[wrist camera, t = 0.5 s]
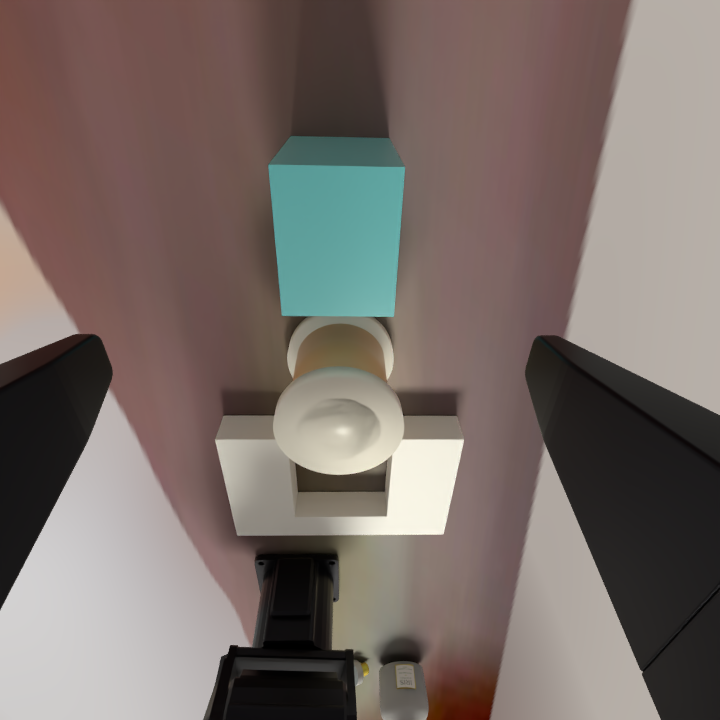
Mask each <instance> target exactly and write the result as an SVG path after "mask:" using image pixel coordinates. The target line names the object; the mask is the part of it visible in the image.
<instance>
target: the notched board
mask: <svg viewBox="0 0 720 720" xmlns="http://www.w3.org/2000/svg"><path fill="white" fill-rule="evenodd" d="M403 419H404V434H403V438H402V441H401V443H400V445H399V447H398V448H397V450H396V451H395V452H394V453H393V454H392V455H391V456H390V457H389V458H388V459H387V470H386V482H385V492H298V488H297V477H296V466H295V462H294V461H292V460H291V459H290V458H289V457H288V456H286V455H285V454H284V452H283V451H282V450H281V449H280V447H279V445H278V444H277V442H276V439H275V437H274V432H273V420H274V416H223V418H222V421H221V424H220V427H219V430H218V433H217V435H216V438H215V442H216V446H217V450H218V455H219V459H220V463H221V468H222V472H223V476H224V481H225V485H226V489H227V494H228V498H229V502H230V507H231V511H232V515H233V520H234V524H235V528H236V533H237V536H283V535H427V534H444V530H445V525H446V520H447V516H448V511H449V507H450V502H451V497H452V493H453V488H454V484H455V479H456V474H457V470H458V465H459V461H460V456H461V452H462V447H463V442H464V437H463V434H462V431H461V428H460V424H459V421H458V418H457V416H403Z"/></svg>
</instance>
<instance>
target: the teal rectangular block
mask: <svg viewBox="0 0 720 720" xmlns="http://www.w3.org/2000/svg"><path fill="white" fill-rule="evenodd" d="M268 167H269V178H270V189H271V200H272V211H273V222H274V233H275V244H276V255H277V266H278V277H279V289H280V300H281V311H282V316H354V317H394V308H395V294H396V281H397V268H398V254H399V241H400V227H401V214H402V201H403V187H404V174H405V166H404V164H403V163H402V161H401V159H400V157H399V155H398V153H397V151H396V150H395V148H394V146H393V144H392V142H391V140H390V138H362V137H315V136H290V138H289V139H288V140H287V141H286V143H285V144H284V145H283V146H282V148H281V149H280V150H279V152H278V153H277V154H276V155H275V157H274V158H273V159H272V160H271V162H270V163H269V164H268Z"/></svg>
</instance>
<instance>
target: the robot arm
mask: <svg viewBox="0 0 720 720" xmlns="http://www.w3.org/2000/svg"><path fill="white" fill-rule="evenodd" d="M112 375H113V371H112V366H111V364H110V361H109V358H108V356H107V353H106V350H105V348H104V345H103V342H102V340H101V339H100V337H99V336H97V335H95V334H75V335H72V336H69V337H67V338H64V339H62V340H59V341H57V342H55V343H52V344H49V345H47V346H44V347H42V348H39V349H37V350H34V351H32V352H30V353H27V354H25V355H22V356H20V357H17V358H15V359H12V360H10V361H8V362H5V363H2V364H0V609H1V608H2V606H3V604H4V602H5V600H6V598H7V596H8V594H9V592H10V590H11V588H12V586H13V584H14V582H15V580H16V578H17V577H18V575H19V573H20V571H21V569H22V567H23V565H24V563H25V561H26V559H27V557H28V556H29V554H30V552H31V550H32V548H33V546H34V544H35V542H36V540H37V538H38V536H39V534H40V533H41V531H42V529H43V527H44V525H45V523H46V521H47V519H48V517H49V515H50V513H51V511H52V509H53V507H54V506H55V504H56V502H57V500H58V498H59V496H60V494H61V492H62V490H63V488H64V486H65V484H66V482H67V481H68V479H69V477H70V475H71V473H72V471H73V469H74V467H75V465H76V463H77V461H78V460H79V458H80V455H81V454H82V452H83V450H84V448H85V446H86V444H87V442H88V439H89V437H90V435H91V432H92V430H93V427H94V425H95V422H96V419H97V417H98V414H99V411H100V409H101V406H102V404H103V401H104V398H105V396H106V393H107V390H108V388H109V385H110V383H111V380H112ZM525 377H526V381H527V385H528V388H529V392H530V396H531V399H532V403H533V406H534V410H535V413H536V417H537V420H538V424H539V427H540V431H541V434H542V437H543V440H544V442H545V445H546V447H547V449H548V452H549V454H550V457H551V459H552V461H553V464H554V466H555V469H556V471H557V473H558V476H559V478H560V480H561V483H562V485H563V488H564V490H565V492H566V495H567V497H568V499H569V502H570V504H571V507H572V509H573V511H574V513H575V516H576V518H577V521H578V523H579V525H580V528H581V530H582V533H583V535H584V537H585V539H586V542H587V544H588V547H589V549H590V551H591V554H592V556H593V559H594V561H595V563H596V566H597V568H598V571H599V573H600V575H601V577H602V580H603V582H604V585H605V587H606V589H607V592H608V594H609V597H610V599H611V601H612V604H613V606H614V609H615V611H616V613H617V616H618V618H619V620H620V623H621V625H622V628H623V629H624V632H625V634H626V637H627V639H628V642H629V644H630V646H631V649H632V651H633V653H634V656H635V658H636V660H637V663H638V665H639V668H640V670H641V671H643V673H642V676H643V678H644V681H645V683H646V685H647V688H648V690H649V692H650V695H651V697H652V699H653V702H654V704H655V706H656V709H657V711H658V714H659V716H660V718H661V720H720V415H718V414H716V413H714V412H712V411H710V410H708V409H706V408H704V407H702V406H700V405H698V404H696V403H693V402H691V401H689V400H687V399H685V398H683V397H681V396H679V395H677V394H675V393H673V392H671V391H669V390H667V389H665V388H663V387H661V386H659V385H657V384H655V383H653V382H651V381H648V380H647V379H644V378H643V377H640V376H638V375H636V374H634V373H632V372H630V371H628V370H626V369H624V368H622V367H620V366H618V365H616V364H614V363H612V362H610V361H608V360H606V359H604V358H602V357H600V356H598V355H596V354H594V353H592V352H589V351H587V350H585V349H583V348H581V347H579V346H577V345H575V344H573V343H571V342H569V341H567V340H565V339H563V338H561V337H559V336H555V335H541V336H537V337H536V338H535V340H534V341H533V344H532V348H531V351H530V355H529V358H528V362H527V365H526V370H525ZM255 568H256V573H257V578H258V583H259V588H260V593H261V596H260V602H259V608H258V615H257V621H256V627H255V633H254V639H253V645H252V647H238V645H230V648H229V652H228V654H227V655H224V656H222V657H221V660H220V665H219V670H218V674H217V678H216V683H215V686H214V689H213V693H212V695H211V698H210V701H209V704H208V708H207V710H206V713H205V716H204V719H203V720H357V712H356V693H355V675H354V658H353V649H345V651H343V650H332V623H333V602H337V601H338V600H339V564H338V556H336V555H259V556H257V557H256V558H255Z"/></svg>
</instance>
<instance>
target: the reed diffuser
mask: <svg viewBox="0 0 720 720" xmlns="http://www.w3.org/2000/svg"><path fill="white" fill-rule="evenodd" d="M368 673H369V668H368V665H367V664H366V663H365V662H363V663H359V661H357V660H354V675H355V686H357V685H359V684H361V683H362V682H363V678H364V676H365V675H367V674H368ZM379 685H380V710H381V716H382V718H383V720H426V718H427V716H428V699H427V692H426V686H425V680H424V673H423V669H422V667H421V666H420V665H419V664H417V663H414V662H409V661H398V662H392V663H389V664H386V665H384V666H383V667H381V669H380V671H379Z"/></svg>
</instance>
